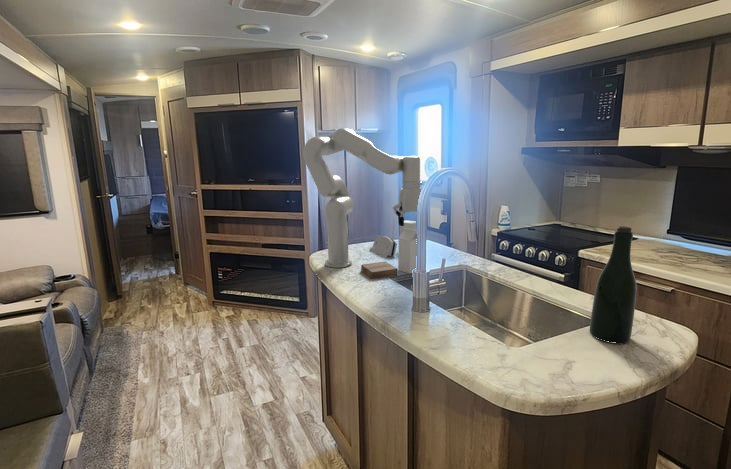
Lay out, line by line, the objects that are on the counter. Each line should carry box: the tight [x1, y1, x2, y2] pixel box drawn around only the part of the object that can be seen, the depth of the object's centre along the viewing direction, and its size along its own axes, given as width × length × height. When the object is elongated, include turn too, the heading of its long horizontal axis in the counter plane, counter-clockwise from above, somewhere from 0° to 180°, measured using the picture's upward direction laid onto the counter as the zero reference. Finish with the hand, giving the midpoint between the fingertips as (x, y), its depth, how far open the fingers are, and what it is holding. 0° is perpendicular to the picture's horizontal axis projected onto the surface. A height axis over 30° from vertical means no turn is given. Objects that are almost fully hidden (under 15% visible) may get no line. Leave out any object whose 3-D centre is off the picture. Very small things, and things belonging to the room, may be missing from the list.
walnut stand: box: [360, 261, 399, 280], centre depth 177 cm, size 12×12×3 cm
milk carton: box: [397, 228, 417, 274], centre depth 179 cm, size 7×7×19 cm
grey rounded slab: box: [369, 235, 398, 259], centre depth 209 cm, size 17×5×10 cm, turn 31°
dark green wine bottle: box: [589, 226, 638, 344], centre depth 115 cm, size 10×10×33 cm
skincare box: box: [399, 219, 416, 236], centre depth 214 cm, size 8×7×16 cm
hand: (411, 224), depth 176 cm, fingers open, 9 cm apart
